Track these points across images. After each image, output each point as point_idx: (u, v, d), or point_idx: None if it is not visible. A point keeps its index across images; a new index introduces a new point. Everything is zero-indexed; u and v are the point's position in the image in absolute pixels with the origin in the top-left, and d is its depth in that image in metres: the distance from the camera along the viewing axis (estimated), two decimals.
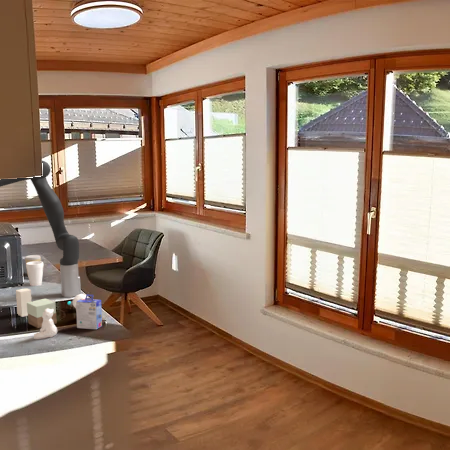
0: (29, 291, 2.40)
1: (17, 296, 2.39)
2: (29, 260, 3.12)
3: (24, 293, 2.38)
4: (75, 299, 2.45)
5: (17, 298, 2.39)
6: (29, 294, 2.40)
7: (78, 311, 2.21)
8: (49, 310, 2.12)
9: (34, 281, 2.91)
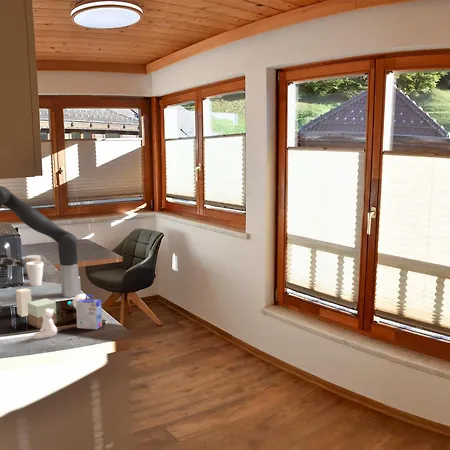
0: (29, 291, 2.40)
1: (17, 296, 2.39)
2: (29, 260, 3.12)
3: (24, 293, 2.38)
4: (75, 299, 2.45)
5: (17, 298, 2.39)
6: (29, 294, 2.40)
7: (78, 311, 2.21)
8: (49, 310, 2.12)
9: (34, 281, 2.91)
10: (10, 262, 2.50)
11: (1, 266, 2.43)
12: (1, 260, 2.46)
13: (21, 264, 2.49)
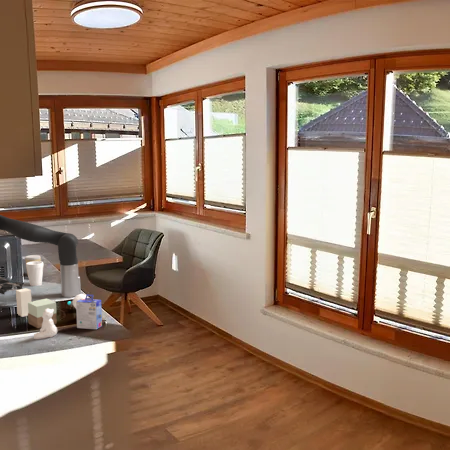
0: (29, 291, 2.40)
1: (17, 296, 2.39)
2: (29, 260, 3.12)
3: (24, 293, 2.38)
4: (75, 299, 2.45)
5: (17, 298, 2.39)
6: (29, 294, 2.40)
7: (78, 311, 2.21)
8: (49, 310, 2.12)
9: (34, 281, 2.91)
10: (9, 287, 2.53)
11: None
12: (0, 286, 2.50)
13: (19, 288, 2.51)
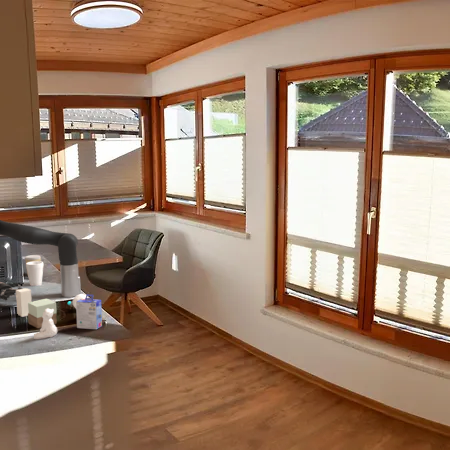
0: (29, 291, 2.40)
1: (17, 296, 2.39)
2: (29, 260, 3.12)
3: (24, 293, 2.38)
4: (75, 299, 2.45)
5: (17, 298, 2.39)
6: (29, 294, 2.40)
7: (78, 311, 2.21)
8: (49, 310, 2.12)
9: (34, 281, 2.91)
10: (12, 292, 2.52)
11: (2, 297, 2.45)
12: (2, 291, 2.49)
13: None
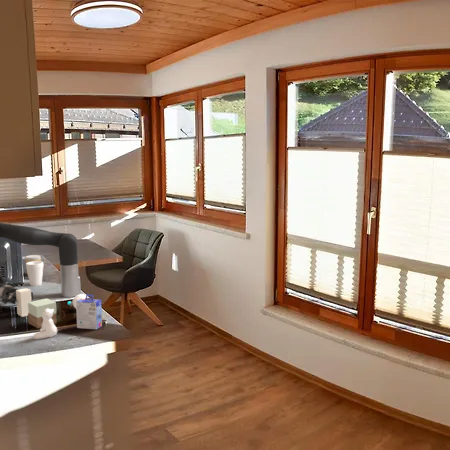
0: (29, 291, 2.40)
1: (17, 296, 2.39)
2: (29, 260, 3.12)
3: (24, 293, 2.38)
4: (75, 299, 2.45)
5: (17, 298, 2.39)
6: (29, 294, 2.40)
7: (78, 311, 2.21)
8: (49, 310, 2.12)
9: (34, 281, 2.91)
10: None
11: (9, 301, 2.39)
12: (10, 295, 2.43)
13: None
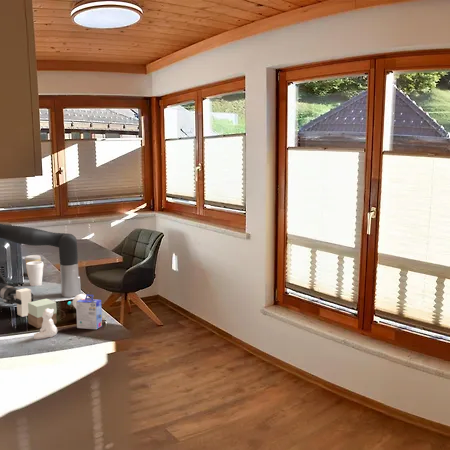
0: (29, 291, 2.39)
1: (17, 296, 2.39)
2: (29, 260, 3.12)
3: (24, 293, 2.38)
4: (75, 299, 2.45)
5: (17, 298, 2.39)
6: (29, 294, 2.40)
7: (78, 311, 2.21)
8: (49, 310, 2.12)
9: (34, 281, 2.91)
10: None
11: (15, 302, 2.38)
12: (14, 296, 2.41)
13: None
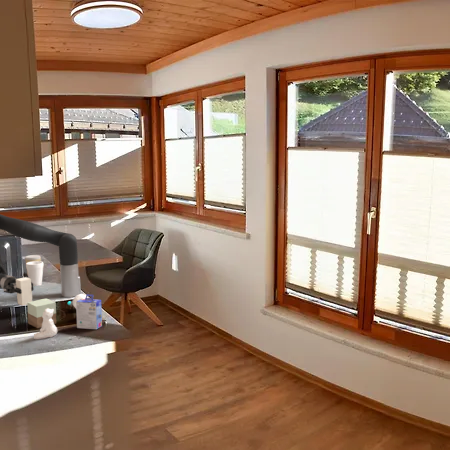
0: (29, 280, 2.39)
1: (17, 285, 2.38)
2: (29, 260, 3.12)
3: (24, 282, 2.37)
4: (75, 299, 2.45)
5: (17, 287, 2.39)
6: (29, 283, 2.39)
7: (78, 311, 2.21)
8: (49, 310, 2.12)
9: (34, 281, 2.91)
10: None
11: (15, 291, 2.38)
12: (14, 285, 2.41)
13: None
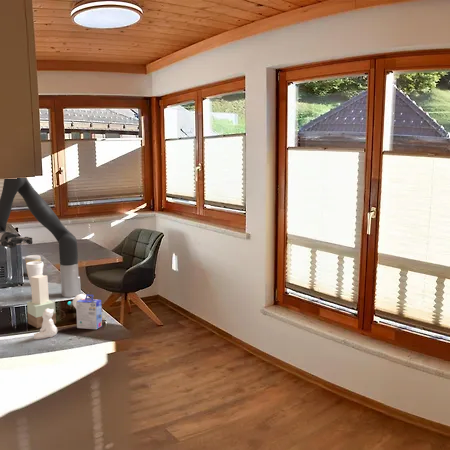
0: (46, 277, 2.27)
1: (33, 283, 2.25)
2: (29, 260, 3.12)
3: (41, 279, 2.25)
4: (75, 299, 2.45)
5: (33, 285, 2.25)
6: (46, 280, 2.27)
7: (78, 311, 2.21)
8: (49, 310, 2.12)
9: None
10: (19, 240, 2.45)
11: (8, 244, 2.38)
12: (9, 239, 2.41)
13: (29, 241, 2.43)
